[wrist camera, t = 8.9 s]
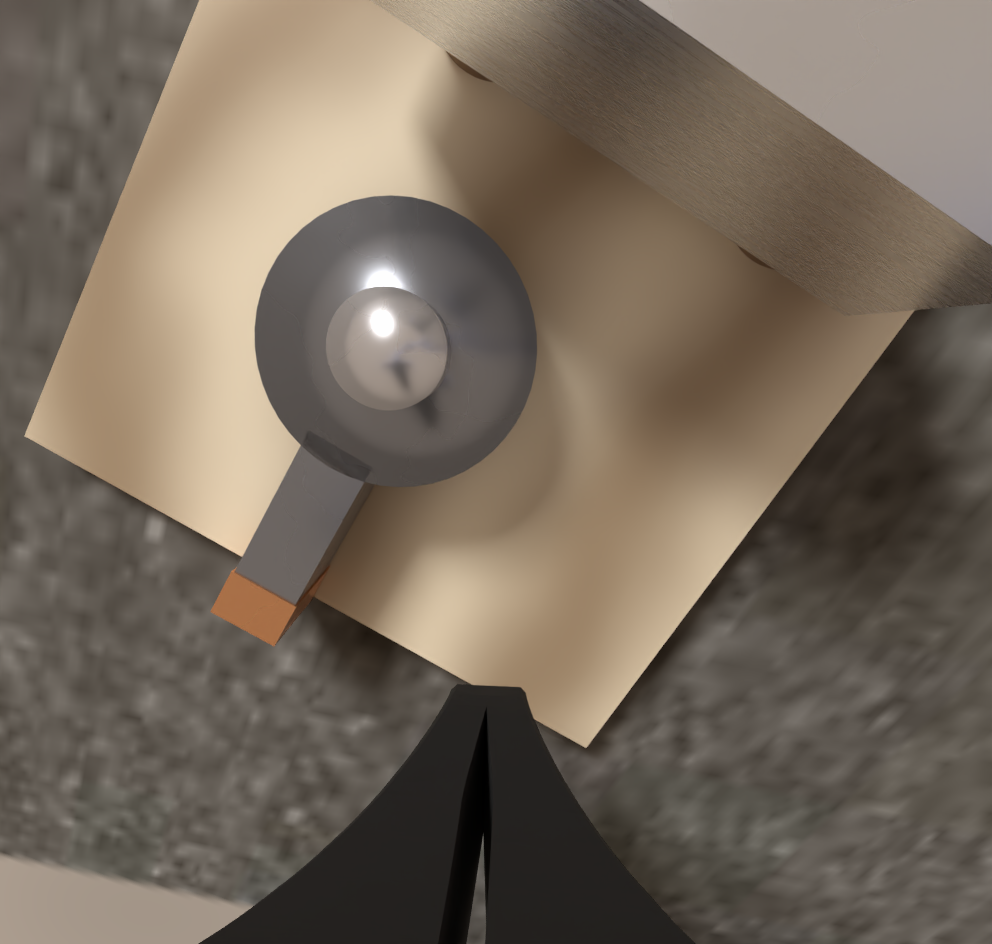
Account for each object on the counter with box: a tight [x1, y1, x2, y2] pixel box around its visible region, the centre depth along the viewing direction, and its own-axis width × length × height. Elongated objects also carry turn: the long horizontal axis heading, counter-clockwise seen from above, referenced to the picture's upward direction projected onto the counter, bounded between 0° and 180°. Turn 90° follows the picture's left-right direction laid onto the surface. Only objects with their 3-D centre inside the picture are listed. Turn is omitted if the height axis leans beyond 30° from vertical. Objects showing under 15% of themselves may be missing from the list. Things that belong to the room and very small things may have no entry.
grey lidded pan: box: [211, 195, 537, 646], centre depth 13 cm, size 11×6×3 cm, turn 149°
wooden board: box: [25, 0, 914, 748], centre depth 14 cm, size 18×20×3 cm
